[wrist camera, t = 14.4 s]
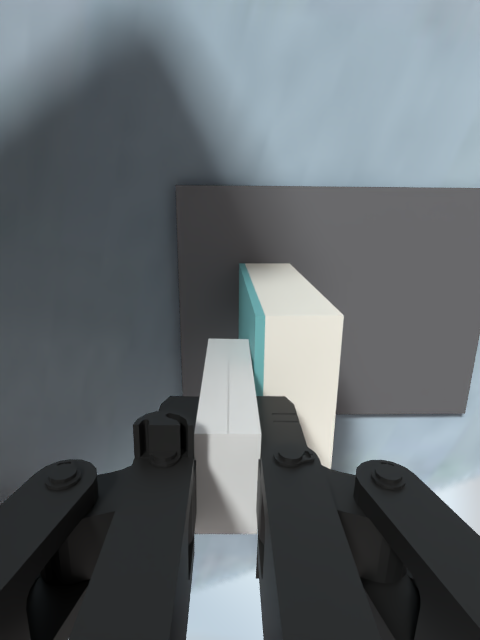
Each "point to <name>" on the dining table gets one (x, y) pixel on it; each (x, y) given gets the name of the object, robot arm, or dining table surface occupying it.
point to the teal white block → (293, 346)
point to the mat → (345, 282)
